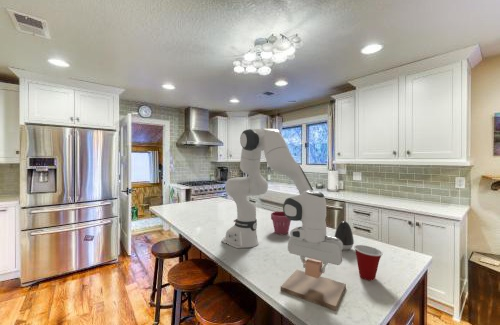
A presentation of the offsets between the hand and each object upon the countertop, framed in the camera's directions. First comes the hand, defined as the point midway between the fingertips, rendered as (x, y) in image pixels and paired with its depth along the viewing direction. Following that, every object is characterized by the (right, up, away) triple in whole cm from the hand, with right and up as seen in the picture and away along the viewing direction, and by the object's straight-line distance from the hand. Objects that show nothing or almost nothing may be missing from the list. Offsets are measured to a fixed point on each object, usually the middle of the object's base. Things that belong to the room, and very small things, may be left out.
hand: (313, 269), depth 86 cm
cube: (0, -2, 0) cm, 2 cm away
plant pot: (-3, -7, +67) cm, 68 cm away
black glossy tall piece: (+28, -7, +40) cm, 50 cm away
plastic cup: (+26, -8, +10) cm, 28 cm away
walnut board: (0, -8, 0) cm, 8 cm away
